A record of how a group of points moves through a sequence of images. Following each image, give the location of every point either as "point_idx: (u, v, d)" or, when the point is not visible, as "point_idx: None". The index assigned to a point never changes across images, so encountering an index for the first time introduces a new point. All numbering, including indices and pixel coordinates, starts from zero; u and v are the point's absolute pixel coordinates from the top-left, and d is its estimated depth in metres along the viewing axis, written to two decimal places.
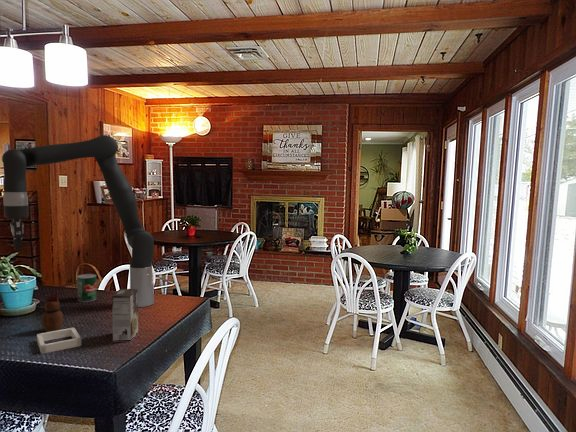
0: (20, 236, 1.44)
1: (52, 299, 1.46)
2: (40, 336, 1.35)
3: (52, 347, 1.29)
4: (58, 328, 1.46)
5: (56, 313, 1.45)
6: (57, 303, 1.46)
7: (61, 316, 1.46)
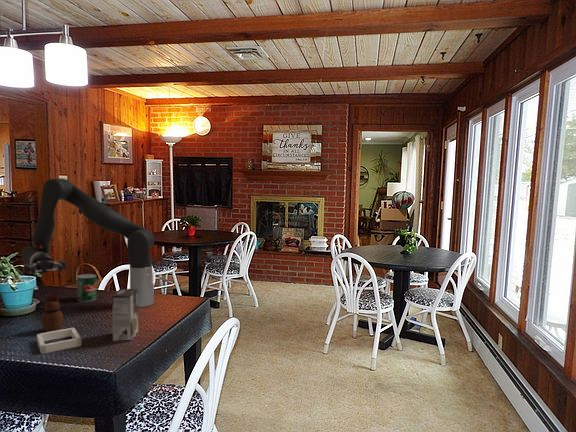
0: (24, 268, 1.53)
1: (52, 299, 1.46)
2: (40, 336, 1.35)
3: (52, 347, 1.29)
4: (58, 328, 1.46)
5: (56, 313, 1.45)
6: (57, 303, 1.46)
7: (61, 316, 1.46)
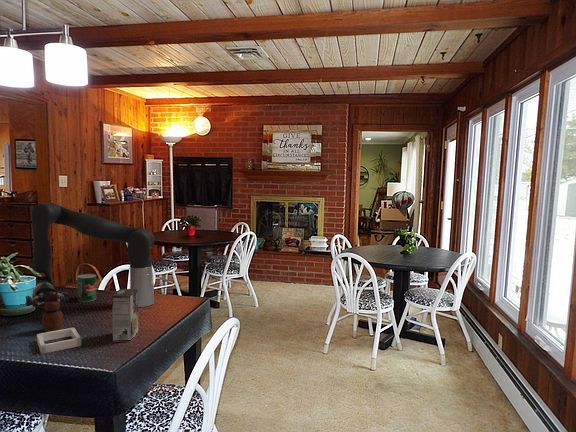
0: (26, 301, 1.52)
1: (52, 299, 1.46)
2: (40, 336, 1.35)
3: (52, 347, 1.29)
4: (58, 328, 1.46)
5: (56, 313, 1.45)
6: (57, 303, 1.46)
7: (61, 316, 1.46)
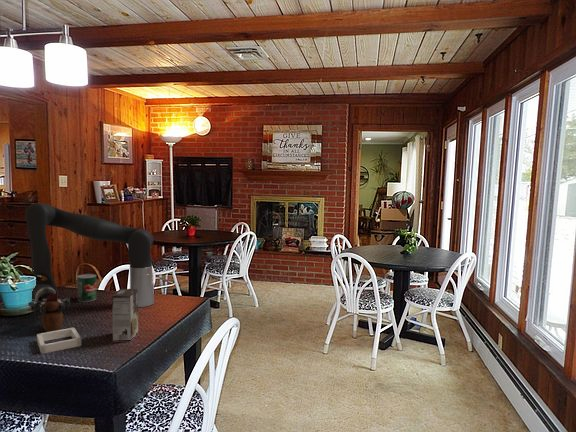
0: (33, 307, 1.45)
1: (52, 299, 1.46)
2: (40, 336, 1.35)
3: (52, 347, 1.29)
4: (58, 328, 1.46)
5: (56, 313, 1.45)
6: (57, 303, 1.46)
7: (61, 316, 1.46)
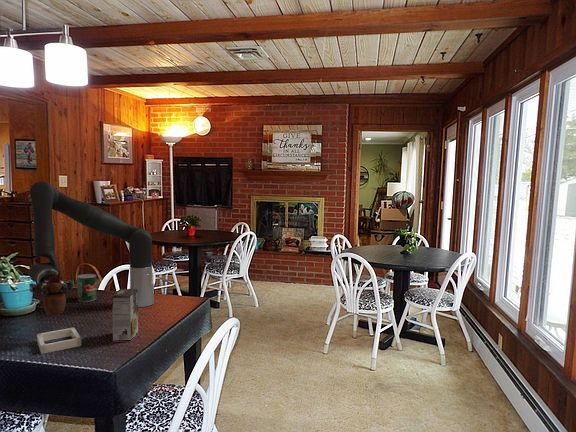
0: (34, 288, 1.35)
1: (54, 280, 1.36)
2: (40, 336, 1.35)
3: (52, 347, 1.29)
4: (60, 311, 1.37)
5: (58, 295, 1.36)
6: (59, 284, 1.36)
7: (64, 298, 1.37)
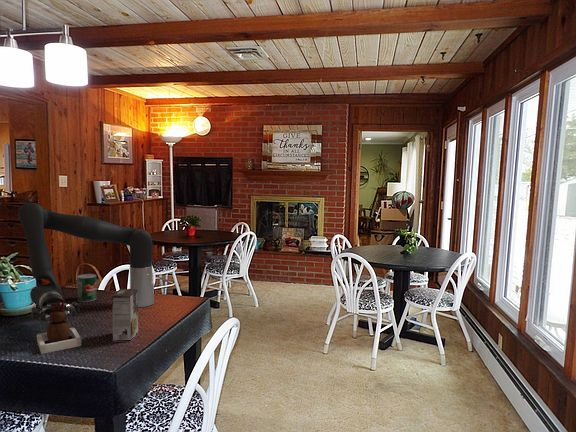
0: (32, 314, 1.33)
1: (58, 309, 1.35)
2: (40, 336, 1.35)
3: (52, 347, 1.29)
4: None
5: (62, 324, 1.34)
6: (63, 313, 1.35)
7: (67, 327, 1.36)
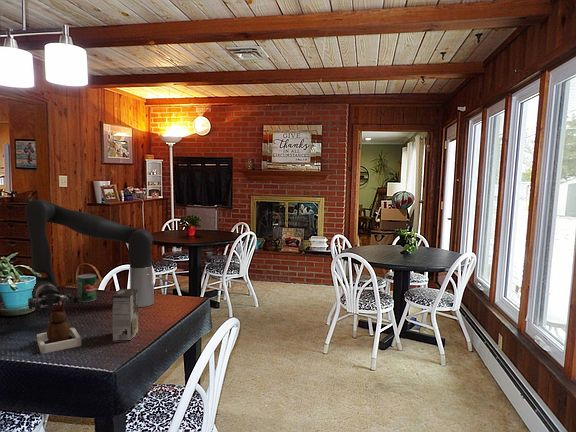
0: (28, 304, 1.44)
1: (58, 309, 1.35)
2: (40, 336, 1.35)
3: (52, 347, 1.29)
4: None
5: (62, 324, 1.34)
6: (63, 313, 1.35)
7: (67, 327, 1.36)
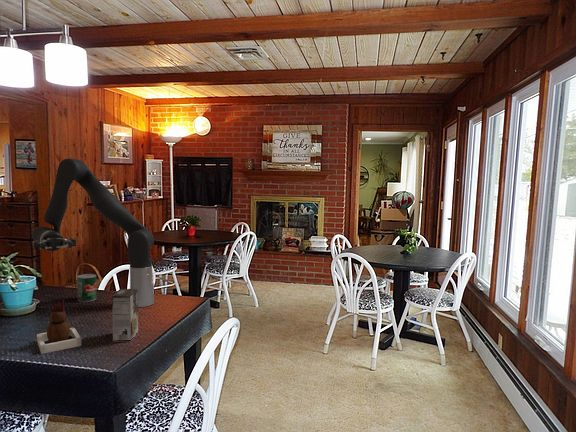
0: (33, 244, 1.51)
1: (58, 309, 1.35)
2: (40, 336, 1.35)
3: (52, 347, 1.29)
4: None
5: (62, 324, 1.34)
6: (63, 313, 1.35)
7: (67, 327, 1.36)
